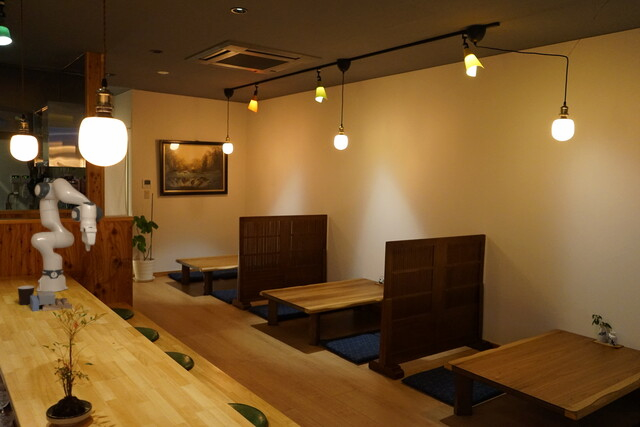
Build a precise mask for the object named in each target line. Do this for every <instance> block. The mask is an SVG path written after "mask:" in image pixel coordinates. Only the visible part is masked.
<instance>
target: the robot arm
mask: <svg viewBox="0 0 640 427" xmlns="http://www.w3.org/2000/svg"><path fill="white" fill-rule="evenodd" d="M34 195H35V197H36V198H39V199H40V201H39V214H40V216H39V217H40V224H41V225H42V226H43V227H44V228H46V229H49V231H41V232H37V233H34V234H33V235H32V237H31V240H30V243H31V245H32V247H34V248H35V249H36V250H37V251H38V252H40V254H41V256H42V263H43V265H42V266H43V269H42V272H41V273H42V275H41V277H40V279H38V280H37V281H38V282H37V283H38V285H37V287H36V289H35V290H36V292H44V291H53V293H54V292H61V291H65V290H68V289H69V287H68V286H67V285H66V276H65V275H64V274H63V273H64V268H63V257H62V256H61V254H59V253H57V252H54V249H61V248H62V249H63V248H68V247H69V248H70V247H71V246H72V245H73V244H74V242H75V237H74V234H73V233H72V232H70V231H69V230H67V228H65V227H64V225H63V224H62V222H61V218H60V212H59V207H58V203H65V204H70V205H71V204H72V205H79V206H75V207H74V208H72V210H71V216H70V217H71V219H72V220H73V221H74V222H78V223H80V230H79V231H80V232H81V241H82V242H83V243H84V245H85V250H86V251H87V252H89V251H91V246H95V243H96V234H97V232H98V230H97V223H98V222H100V221H101V220H102V219H103V216H104V211H103V209H102V208H101V207H100V206H99V205H97V204H96V203H94V202H93V201H92V200H91V199H90V198H89V197H87V196H86V195H85V194H83V193H81V192H80V191H79V190H77V189H76V188H74V186H72V185H71V183H70V182H69V181H67V180H66V179H64V178H62V177H60V178H59V177H58V178H56V179H54V180H53V181H52V182H39V183H38V182H37V184H36V185H35V187H34Z"/></svg>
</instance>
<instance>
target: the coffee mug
mask: <svg viewBox="0 0 640 427" xmlns="http://www.w3.org/2000/svg"><path fill="white" fill-rule="evenodd" d="M34 292H35V286H34V285H23V286H22V285H21V286H18V287H17V295H18V301H19V306H30V296H33V295H35V294H34Z"/></svg>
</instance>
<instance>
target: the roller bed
mask: <svg viewBox="0 0 640 427" xmlns="http://www.w3.org/2000/svg"><path fill="white" fill-rule="evenodd" d="M41 306H42V312H47V310H51V311H57V310H58V309H59V311H60V309H61V306H62V307H63V309H61V310H68V309H72V308H73V303H70V302H69V300H68V297H61V298H58V297H57V298H56V297H55V304H45V305H41ZM64 308H65V309H64Z"/></svg>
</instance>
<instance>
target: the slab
mask: <svg viewBox="0 0 640 427" xmlns="http://www.w3.org/2000/svg"><path fill="white" fill-rule="evenodd" d="M36 296H37V298H38V299H39V306H42V305H45V304H55V299H56V294H55V293H54V292H53V291H44V292H43V291H36Z"/></svg>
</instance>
